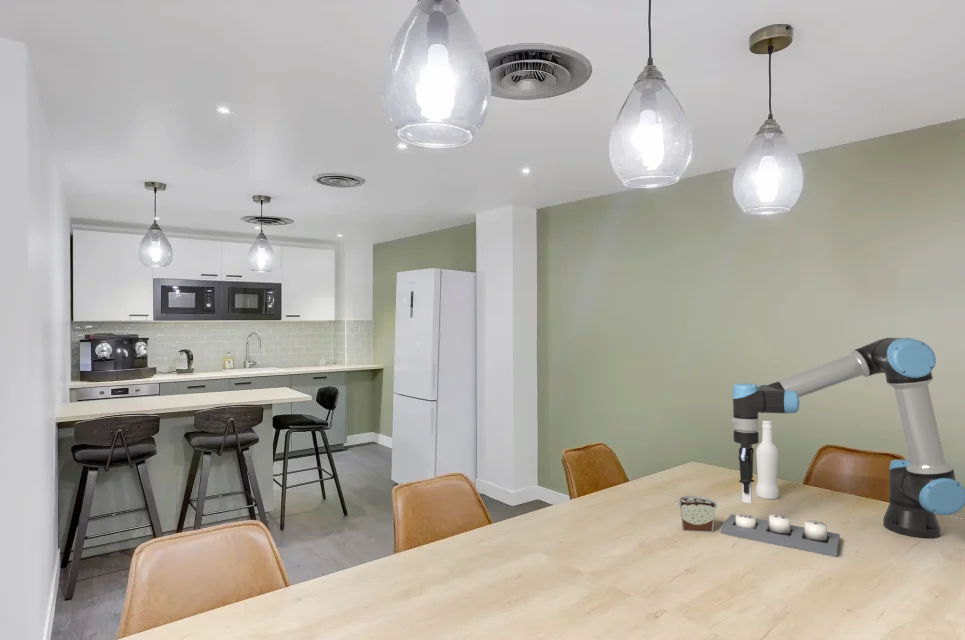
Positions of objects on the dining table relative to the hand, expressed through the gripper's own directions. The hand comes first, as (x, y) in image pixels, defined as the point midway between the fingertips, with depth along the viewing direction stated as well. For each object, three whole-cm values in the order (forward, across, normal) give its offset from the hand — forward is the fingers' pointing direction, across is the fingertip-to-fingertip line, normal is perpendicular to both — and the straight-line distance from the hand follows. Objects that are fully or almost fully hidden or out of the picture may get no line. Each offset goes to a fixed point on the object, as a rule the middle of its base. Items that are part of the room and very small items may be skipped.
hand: (747, 502), depth 188 cm
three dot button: (+9, 0, -1) cm, 9 cm away
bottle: (+10, -45, -1) cm, 46 cm away
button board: (+9, 0, +9) cm, 13 cm away
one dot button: (+7, 0, +19) cm, 21 cm away
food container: (+9, +8, -15) cm, 19 cm away
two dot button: (+7, 0, +9) cm, 12 cm away
